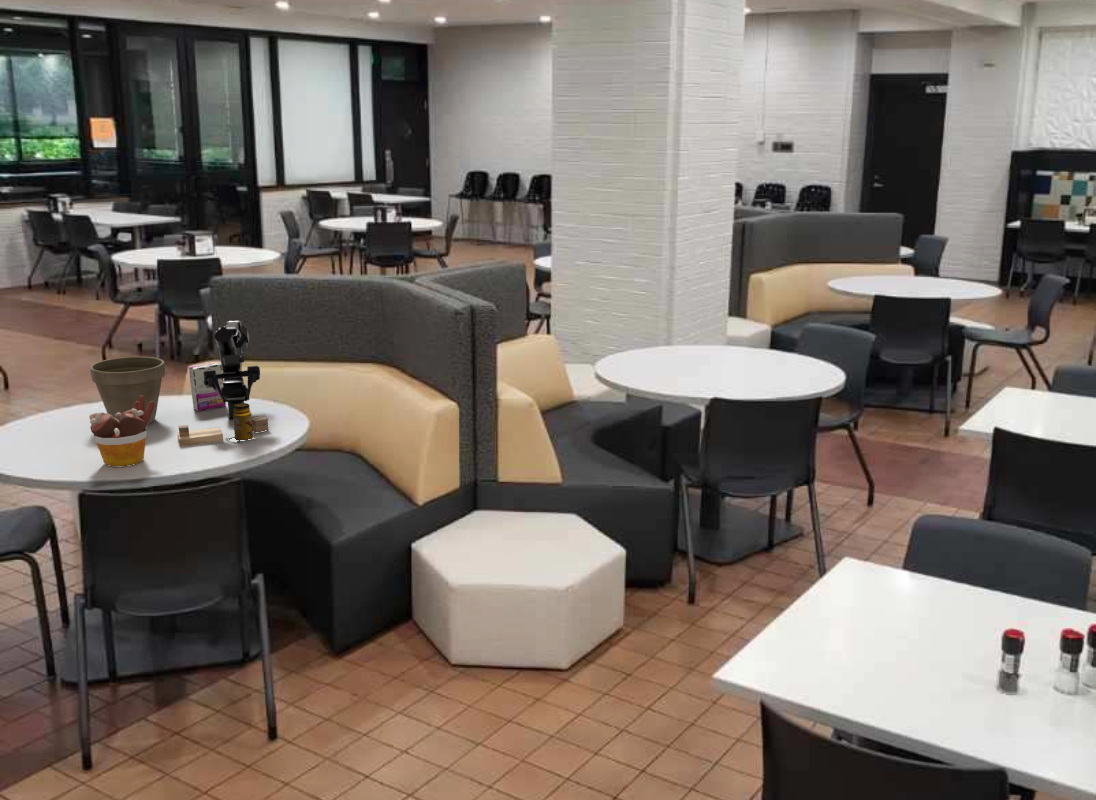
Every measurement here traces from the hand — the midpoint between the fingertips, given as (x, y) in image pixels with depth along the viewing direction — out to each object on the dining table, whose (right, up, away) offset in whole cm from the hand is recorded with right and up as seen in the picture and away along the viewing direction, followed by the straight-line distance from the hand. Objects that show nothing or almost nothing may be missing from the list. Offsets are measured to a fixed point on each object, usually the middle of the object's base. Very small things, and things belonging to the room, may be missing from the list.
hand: (235, 395), depth 371 cm
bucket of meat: (-27, -21, -26) cm, 43 cm away
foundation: (-10, -15, -4) cm, 19 cm away
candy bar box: (-20, -5, +37) cm, 43 cm away
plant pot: (-42, -10, +19) cm, 47 cm away
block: (+7, -12, +6) cm, 15 cm away
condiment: (+3, -15, -4) cm, 16 cm away
